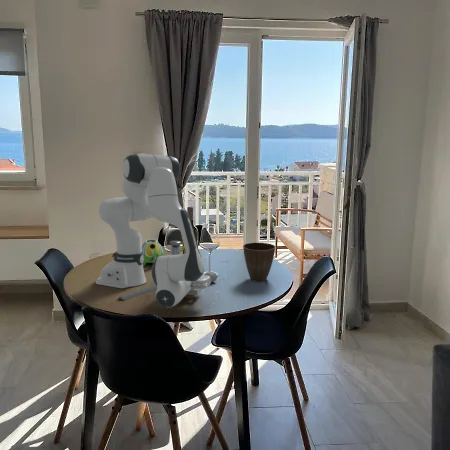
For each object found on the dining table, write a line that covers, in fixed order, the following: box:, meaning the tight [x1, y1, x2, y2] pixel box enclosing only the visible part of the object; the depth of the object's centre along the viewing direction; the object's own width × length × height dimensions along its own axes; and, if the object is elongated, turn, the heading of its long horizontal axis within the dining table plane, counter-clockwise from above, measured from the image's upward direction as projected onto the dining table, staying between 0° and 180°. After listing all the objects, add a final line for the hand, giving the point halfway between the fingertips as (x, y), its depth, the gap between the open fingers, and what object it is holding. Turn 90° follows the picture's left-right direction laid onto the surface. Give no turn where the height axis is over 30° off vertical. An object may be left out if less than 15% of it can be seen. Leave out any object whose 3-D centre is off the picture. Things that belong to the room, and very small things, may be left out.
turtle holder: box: [142, 239, 164, 266], centre depth 229 cm, size 12×18×12 cm
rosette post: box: [169, 240, 203, 296], centre depth 182 cm, size 14×11×22 cm
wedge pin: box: [184, 288, 196, 300], centre depth 180 cm, size 4×4×14 cm
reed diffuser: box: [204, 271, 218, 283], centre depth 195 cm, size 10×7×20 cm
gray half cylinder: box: [118, 284, 157, 302], centre depth 185 cm, size 4×20×2 cm, turn 143°
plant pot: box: [242, 242, 276, 282], centre depth 205 cm, size 15×15×16 cm
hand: (190, 274), depth 181 cm, fingers open, 8 cm apart
